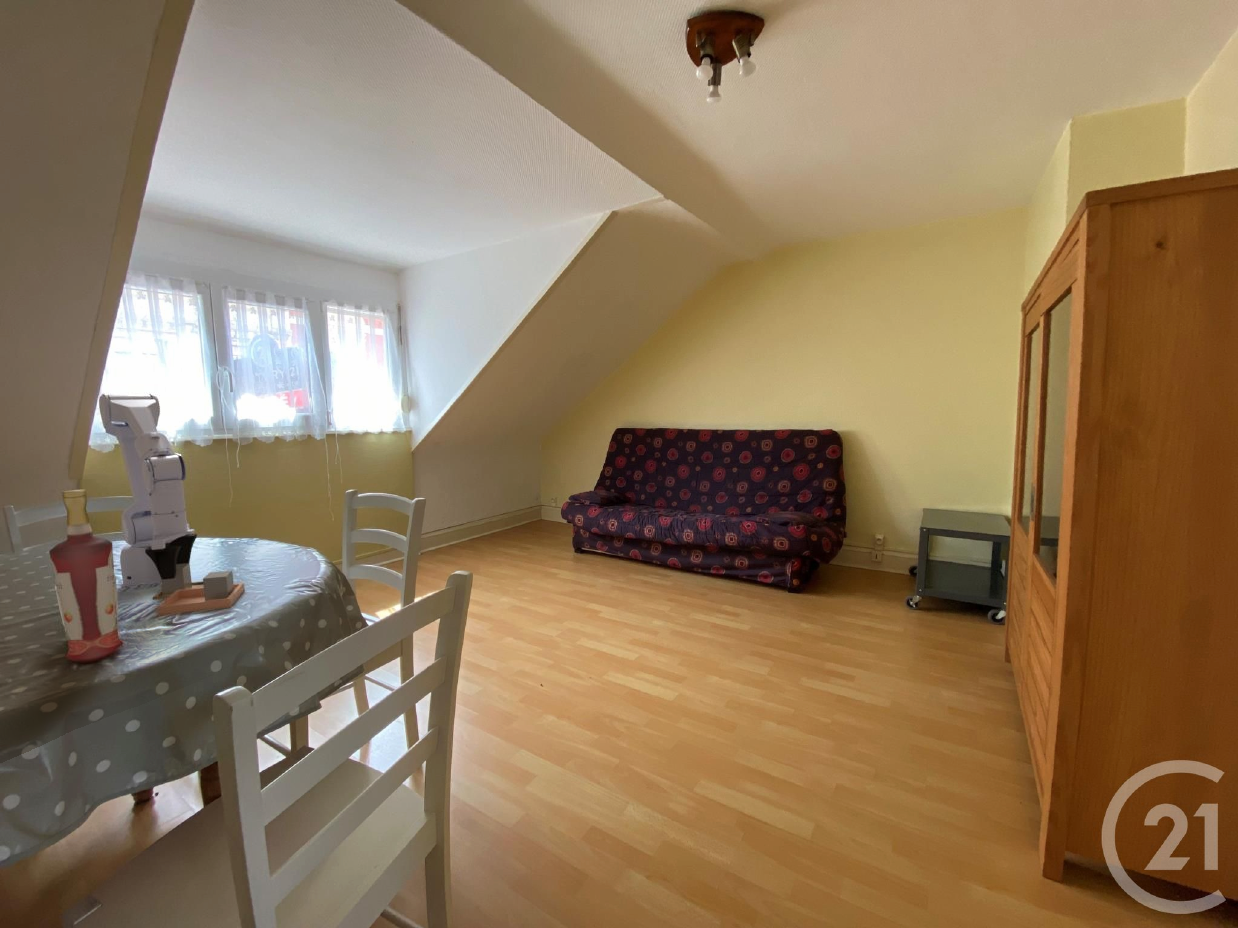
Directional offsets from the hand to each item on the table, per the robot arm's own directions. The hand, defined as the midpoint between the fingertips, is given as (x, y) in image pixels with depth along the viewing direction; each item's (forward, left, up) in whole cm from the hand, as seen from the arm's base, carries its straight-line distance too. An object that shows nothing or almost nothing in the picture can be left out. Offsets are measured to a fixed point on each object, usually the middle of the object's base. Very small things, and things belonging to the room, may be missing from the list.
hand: (175, 573), depth 119 cm
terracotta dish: (+7, -9, -5) cm, 13 cm away
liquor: (-2, -30, -5) cm, 30 cm away
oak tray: (+3, 0, -5) cm, 5 cm away
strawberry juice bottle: (-7, -19, -5) cm, 21 cm away
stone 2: (+10, -9, -4) cm, 15 cm away
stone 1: (0, 0, -4) cm, 4 cm away
